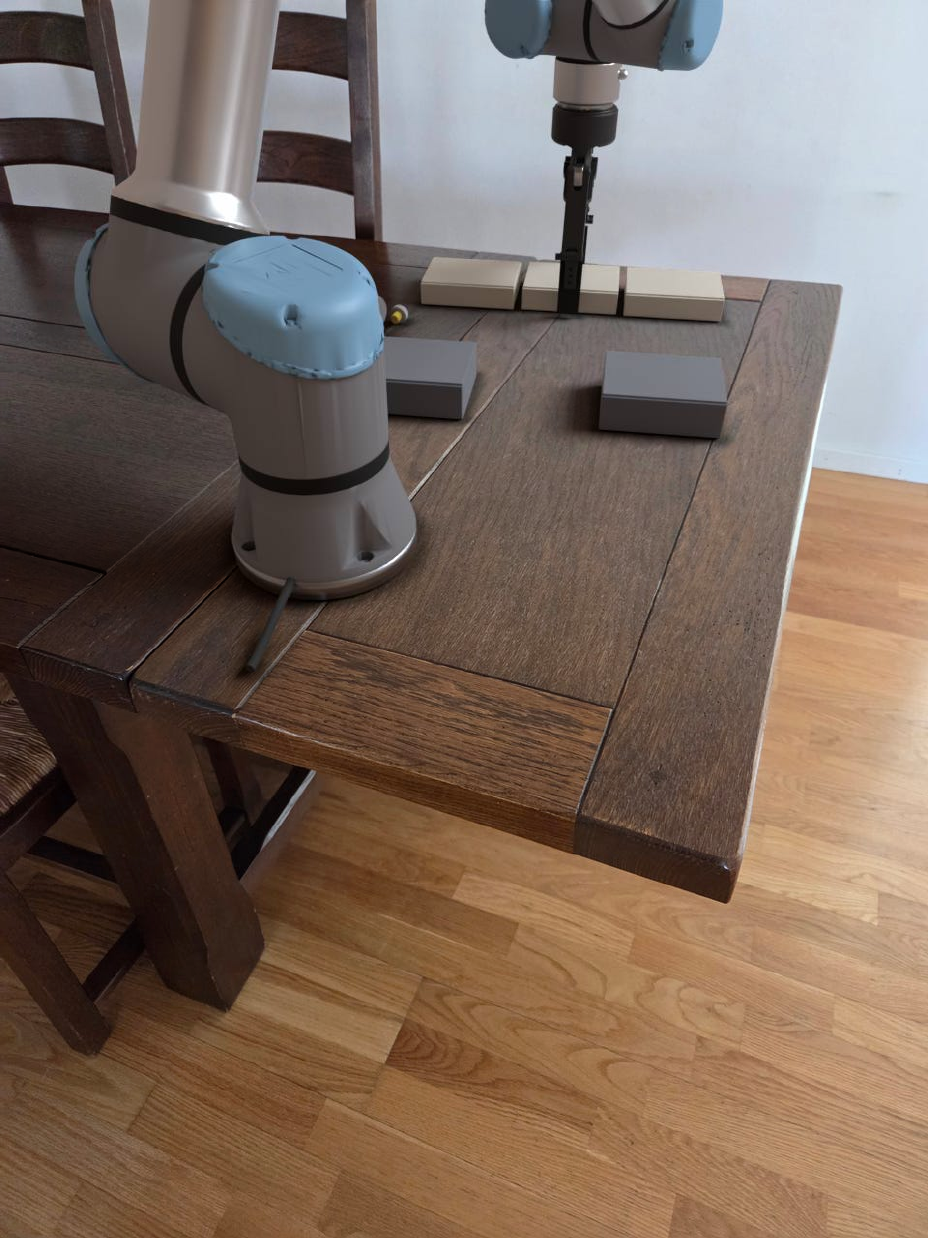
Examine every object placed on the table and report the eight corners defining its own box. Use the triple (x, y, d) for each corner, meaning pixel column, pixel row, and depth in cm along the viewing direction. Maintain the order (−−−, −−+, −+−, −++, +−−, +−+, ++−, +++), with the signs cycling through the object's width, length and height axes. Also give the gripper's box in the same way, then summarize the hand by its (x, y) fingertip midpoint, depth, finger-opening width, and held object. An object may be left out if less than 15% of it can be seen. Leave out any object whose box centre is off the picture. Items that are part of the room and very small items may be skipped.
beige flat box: (615, 315, 109) (618, 292, 107) (521, 310, 110) (522, 286, 108) (617, 288, 116) (619, 265, 114) (528, 283, 117) (529, 261, 115)
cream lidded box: (720, 322, 107) (725, 298, 105) (623, 316, 108) (626, 293, 106) (715, 294, 114) (720, 271, 112) (624, 289, 115) (627, 266, 113)
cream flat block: (513, 310, 110) (513, 287, 108) (421, 305, 111) (420, 281, 109) (520, 283, 117) (521, 261, 115) (434, 278, 118) (433, 256, 116)
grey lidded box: (462, 421, 88) (461, 385, 86) (348, 412, 90) (345, 377, 87) (476, 376, 96) (476, 341, 93) (371, 369, 98) (369, 335, 95)
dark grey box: (719, 440, 85) (727, 403, 83) (598, 431, 87) (602, 394, 84) (713, 392, 93) (720, 357, 90) (602, 384, 94) (605, 350, 92)
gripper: (616, 128, 89) (595, 332, 103) (620, 83, 106) (602, 262, 121) (544, 126, 89) (533, 328, 104) (560, 81, 107) (549, 259, 122)
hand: (570, 293), depth 112 cm, fingers open, 12 cm apart
